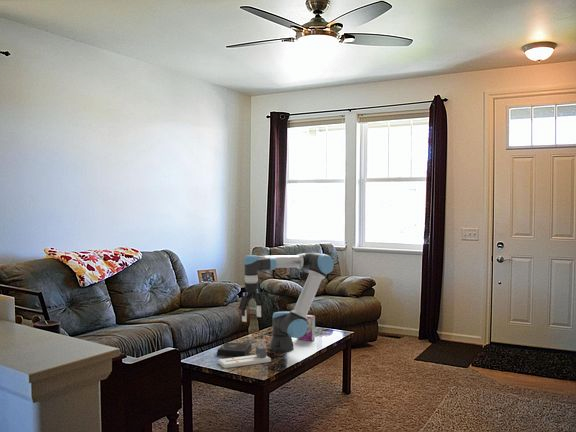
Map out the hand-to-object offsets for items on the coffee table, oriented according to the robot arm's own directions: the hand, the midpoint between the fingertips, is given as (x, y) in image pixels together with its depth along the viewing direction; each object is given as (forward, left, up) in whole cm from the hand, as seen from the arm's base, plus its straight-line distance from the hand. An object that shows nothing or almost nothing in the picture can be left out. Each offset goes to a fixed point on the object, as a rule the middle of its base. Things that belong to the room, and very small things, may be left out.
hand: (251, 319), depth 295 cm
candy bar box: (-52, -28, -24) cm, 64 cm away
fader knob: (-5, +2, -21) cm, 22 cm away
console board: (+5, +2, -24) cm, 24 cm away
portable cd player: (+3, -19, -25) cm, 32 cm away
